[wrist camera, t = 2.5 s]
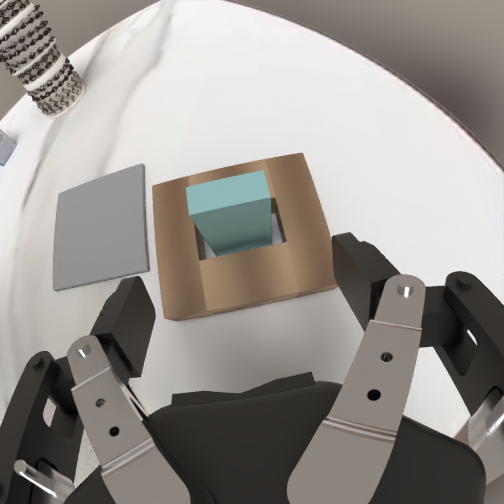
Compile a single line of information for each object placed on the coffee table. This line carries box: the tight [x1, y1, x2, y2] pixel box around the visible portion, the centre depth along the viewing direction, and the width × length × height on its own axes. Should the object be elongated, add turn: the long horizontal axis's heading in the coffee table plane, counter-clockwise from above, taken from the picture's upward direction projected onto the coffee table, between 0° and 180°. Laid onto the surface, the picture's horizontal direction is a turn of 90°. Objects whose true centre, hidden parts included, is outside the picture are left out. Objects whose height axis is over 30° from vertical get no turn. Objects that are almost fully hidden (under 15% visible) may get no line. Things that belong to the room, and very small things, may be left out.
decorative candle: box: [0, 0, 85, 119], centre depth 24 cm, size 9×9×25 cm
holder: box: [152, 153, 338, 321], centre depth 24 cm, size 14×12×3 cm
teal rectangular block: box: [186, 170, 272, 257], centre depth 22 cm, size 5×2×9 cm, turn 102°
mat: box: [53, 164, 149, 291], centre depth 27 cm, size 12×12×1 cm
